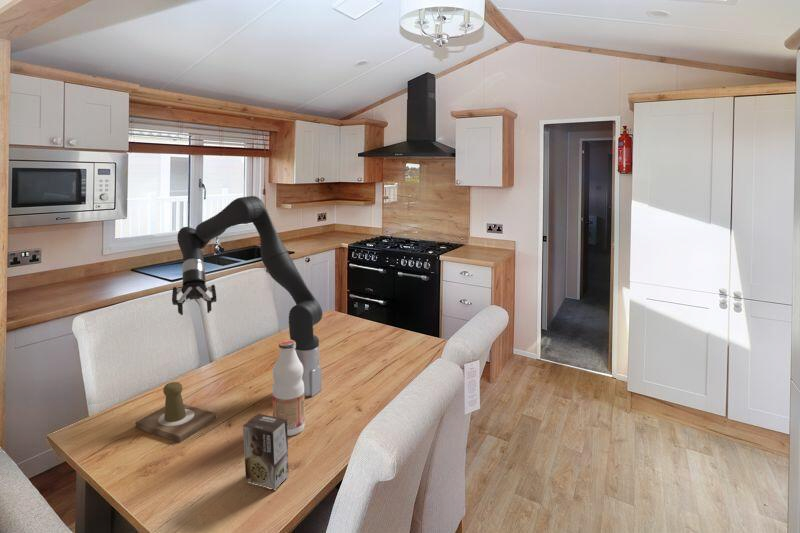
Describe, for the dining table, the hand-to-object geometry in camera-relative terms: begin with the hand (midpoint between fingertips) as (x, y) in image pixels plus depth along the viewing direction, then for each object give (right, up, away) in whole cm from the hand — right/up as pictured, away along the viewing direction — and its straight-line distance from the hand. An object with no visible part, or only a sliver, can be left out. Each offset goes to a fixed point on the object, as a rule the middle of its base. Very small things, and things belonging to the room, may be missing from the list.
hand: (195, 312), depth 156 cm
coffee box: (+37, -39, -41) cm, 67 cm away
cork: (+2, -31, -17) cm, 35 cm away
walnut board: (+2, -33, -17) cm, 37 cm away
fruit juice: (+37, -34, -18) cm, 53 cm away
